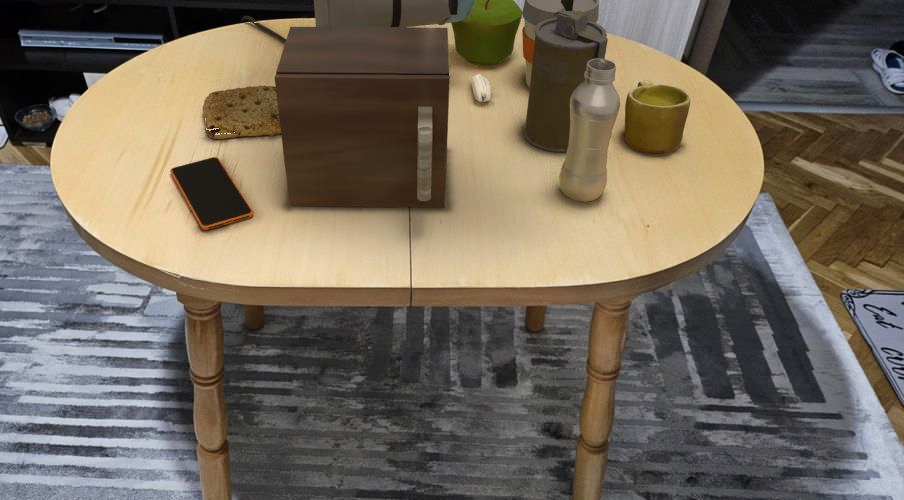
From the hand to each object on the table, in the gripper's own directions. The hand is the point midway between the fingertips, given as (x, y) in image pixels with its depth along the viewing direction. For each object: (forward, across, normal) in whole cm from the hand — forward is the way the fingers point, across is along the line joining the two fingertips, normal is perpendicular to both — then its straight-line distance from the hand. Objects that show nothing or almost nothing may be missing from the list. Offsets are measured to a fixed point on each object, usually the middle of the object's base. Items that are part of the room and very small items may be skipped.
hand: (509, 8), depth 95 cm
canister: (+29, +13, +18) cm, 37 cm away
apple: (+29, +6, +48) cm, 56 cm away
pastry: (+29, -36, +29) cm, 54 cm away
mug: (+29, +28, +17) cm, 43 cm away
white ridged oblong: (+29, +3, +33) cm, 44 cm away
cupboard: (+29, -17, +9) cm, 35 cm away
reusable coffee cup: (+29, +16, +37) cm, 49 cm away
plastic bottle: (+29, +13, +2) cm, 32 cm away
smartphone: (+29, -40, +6) cm, 50 cm away
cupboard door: (+28, -18, -2) cm, 34 cm away
